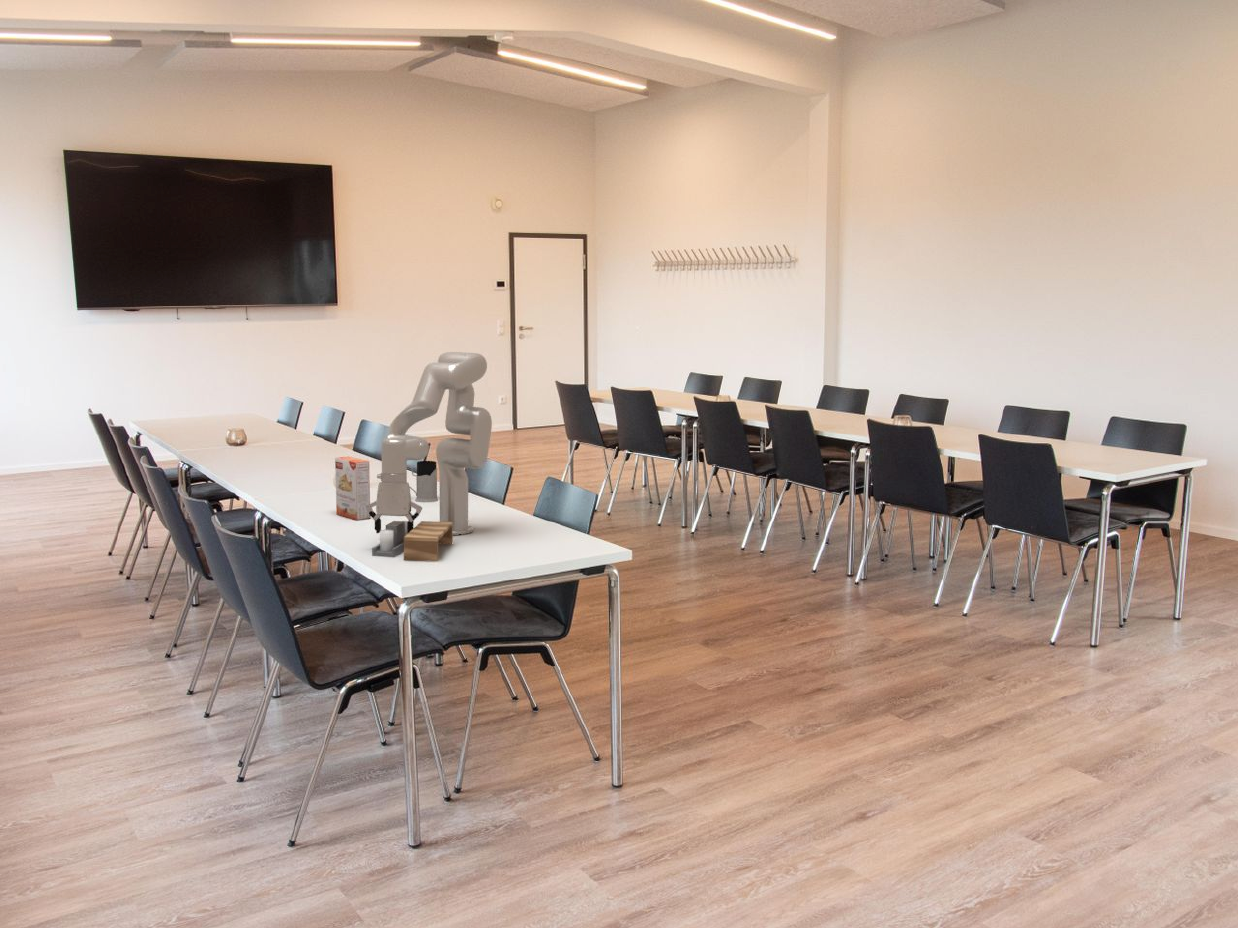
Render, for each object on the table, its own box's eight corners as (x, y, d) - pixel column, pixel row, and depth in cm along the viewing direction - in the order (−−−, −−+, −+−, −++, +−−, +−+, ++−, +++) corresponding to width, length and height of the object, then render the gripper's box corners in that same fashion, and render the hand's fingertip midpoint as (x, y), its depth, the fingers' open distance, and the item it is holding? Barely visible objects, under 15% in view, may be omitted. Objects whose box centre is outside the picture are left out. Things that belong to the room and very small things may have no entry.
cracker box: (335, 514, 381) (334, 457, 378) (350, 512, 385) (349, 455, 382) (355, 521, 371) (354, 461, 368) (370, 518, 375) (370, 460, 372)
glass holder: (435, 502, 409) (435, 464, 407) (399, 501, 409) (398, 463, 407) (440, 498, 417) (440, 460, 415) (404, 497, 418) (403, 459, 416)
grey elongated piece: (396, 542, 340) (396, 516, 339) (417, 543, 339) (417, 517, 338) (372, 556, 321) (371, 529, 319) (394, 558, 320) (393, 530, 318)
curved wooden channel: (421, 542, 340) (421, 521, 339) (452, 543, 339) (452, 522, 338) (403, 560, 316) (403, 537, 315) (437, 561, 315) (437, 538, 314)
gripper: (363, 479, 323) (363, 534, 325) (419, 481, 322) (419, 536, 325) (369, 475, 330) (369, 529, 333) (424, 477, 330) (424, 531, 332)
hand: (394, 533), depth 329 cm, fingers open, 9 cm apart
